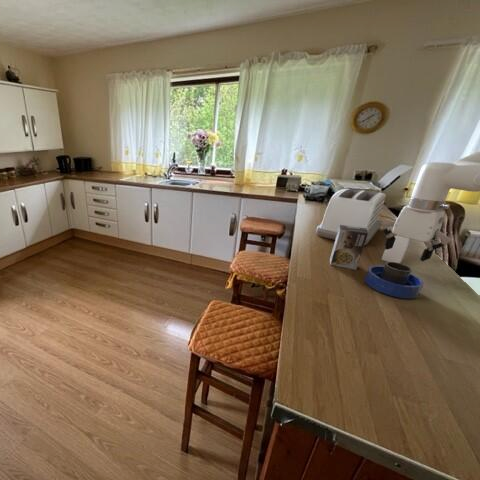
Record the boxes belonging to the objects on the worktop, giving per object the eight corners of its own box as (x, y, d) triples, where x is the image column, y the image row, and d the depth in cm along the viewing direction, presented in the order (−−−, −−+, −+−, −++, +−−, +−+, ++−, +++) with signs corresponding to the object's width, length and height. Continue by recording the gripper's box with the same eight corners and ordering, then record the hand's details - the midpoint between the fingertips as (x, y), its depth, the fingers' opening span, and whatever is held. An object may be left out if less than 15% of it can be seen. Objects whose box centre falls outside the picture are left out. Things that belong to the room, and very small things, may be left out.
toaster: (381, 227, 150) (394, 189, 141) (364, 248, 121) (381, 203, 112) (336, 218, 165) (346, 183, 156) (312, 235, 136) (323, 194, 128)
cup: (407, 289, 89) (416, 269, 86) (396, 293, 86) (405, 273, 83) (384, 279, 94) (392, 260, 91) (373, 283, 92) (381, 264, 89)
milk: (398, 264, 107) (420, 214, 98) (380, 259, 111) (399, 211, 102) (401, 260, 110) (423, 211, 101) (384, 255, 114) (403, 208, 106)
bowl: (426, 293, 87) (432, 281, 85) (403, 304, 82) (409, 291, 80) (378, 273, 99) (382, 262, 98) (355, 281, 94) (359, 270, 92)
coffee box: (354, 264, 107) (367, 228, 101) (356, 270, 102) (369, 233, 95) (329, 258, 111) (339, 224, 105) (329, 265, 106) (340, 228, 100)
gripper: (470, 209, 73) (445, 262, 79) (398, 197, 87) (382, 243, 94) (458, 212, 70) (433, 267, 77) (385, 199, 85) (369, 246, 91)
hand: (405, 254), depth 85 cm, fingers open, 9 cm apart
